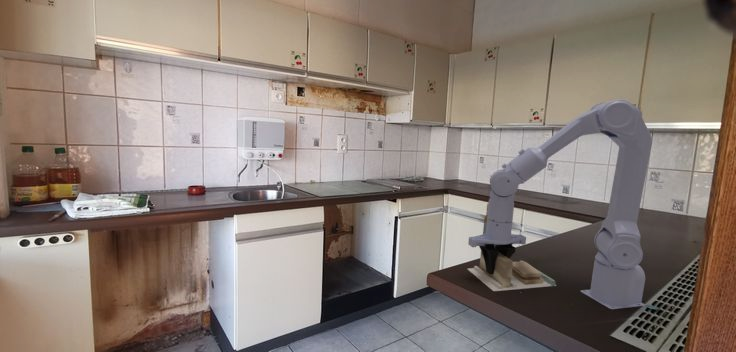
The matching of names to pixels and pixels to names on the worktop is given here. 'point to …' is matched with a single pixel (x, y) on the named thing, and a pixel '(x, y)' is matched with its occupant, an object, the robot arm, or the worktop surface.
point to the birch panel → (500, 269)
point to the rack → (514, 282)
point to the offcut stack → (526, 273)
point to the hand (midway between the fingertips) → (494, 272)
